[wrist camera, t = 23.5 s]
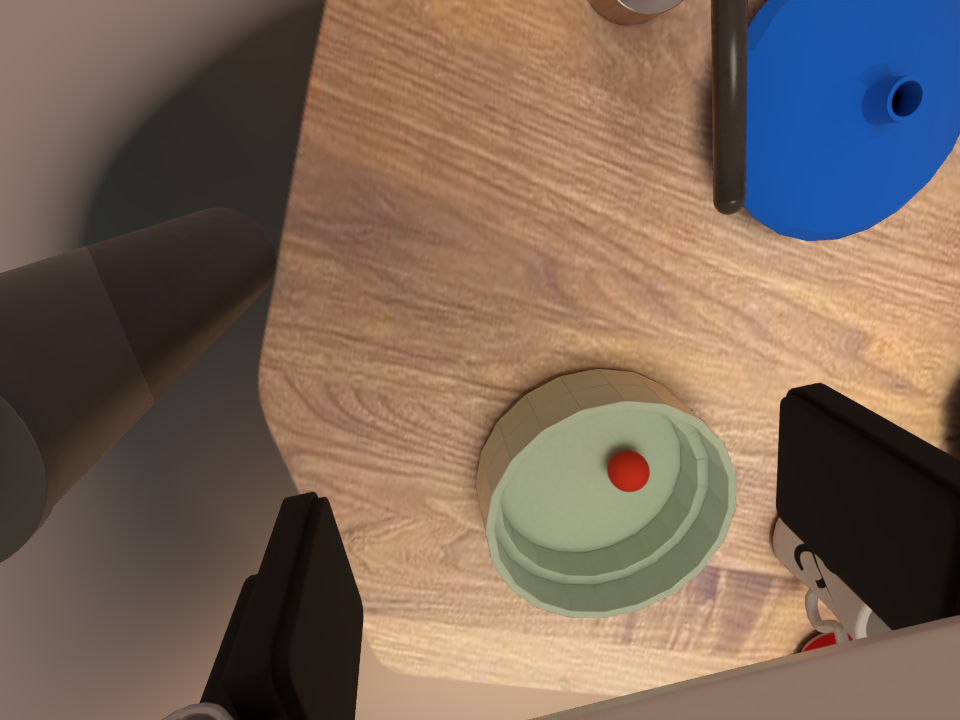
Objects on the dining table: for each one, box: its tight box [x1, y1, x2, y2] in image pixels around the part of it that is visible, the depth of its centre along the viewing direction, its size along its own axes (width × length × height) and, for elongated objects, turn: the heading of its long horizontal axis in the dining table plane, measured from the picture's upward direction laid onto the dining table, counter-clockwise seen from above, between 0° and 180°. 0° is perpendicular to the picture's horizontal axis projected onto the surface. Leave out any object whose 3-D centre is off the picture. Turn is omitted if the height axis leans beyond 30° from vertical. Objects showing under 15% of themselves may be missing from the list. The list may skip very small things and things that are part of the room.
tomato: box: [607, 450, 650, 492], centre depth 41 cm, size 3×3×3 cm
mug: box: [773, 517, 892, 644], centre depth 44 cm, size 12×9×10 cm
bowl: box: [476, 369, 736, 618], centre depth 40 cm, size 17×17×6 cm
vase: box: [744, 0, 960, 241], centre depth 32 cm, size 16×16×7 cm
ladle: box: [589, 0, 748, 215], centre depth 28 cm, size 16×6×11 cm, turn 10°
